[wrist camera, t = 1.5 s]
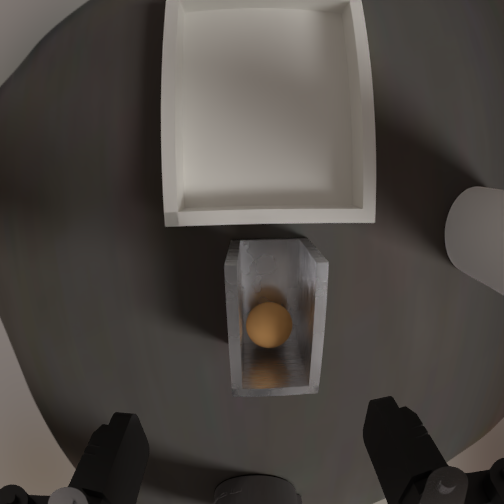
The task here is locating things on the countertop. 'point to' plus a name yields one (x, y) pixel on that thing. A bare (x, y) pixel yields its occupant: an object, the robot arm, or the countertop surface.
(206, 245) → the countertop surface
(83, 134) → the countertop surface
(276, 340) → the ball
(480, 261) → the cylindrical container
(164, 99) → the tray
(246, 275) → the scoop
